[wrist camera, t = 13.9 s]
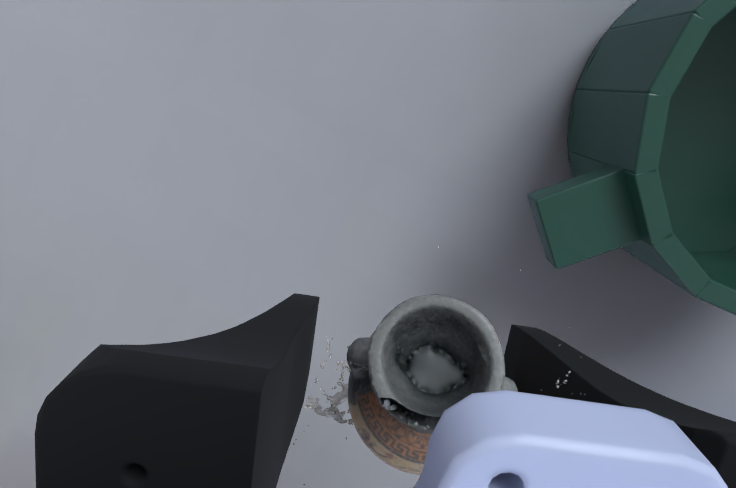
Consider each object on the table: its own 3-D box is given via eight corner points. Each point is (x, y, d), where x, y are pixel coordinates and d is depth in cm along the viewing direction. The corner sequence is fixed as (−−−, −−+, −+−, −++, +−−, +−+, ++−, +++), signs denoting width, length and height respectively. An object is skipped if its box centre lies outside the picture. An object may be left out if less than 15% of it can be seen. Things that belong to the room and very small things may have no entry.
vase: (331, 210, 14) (308, 299, 8) (536, 248, 14) (649, 361, 9) (298, 394, 16) (259, 576, 10) (484, 425, 16) (552, 620, 10)
